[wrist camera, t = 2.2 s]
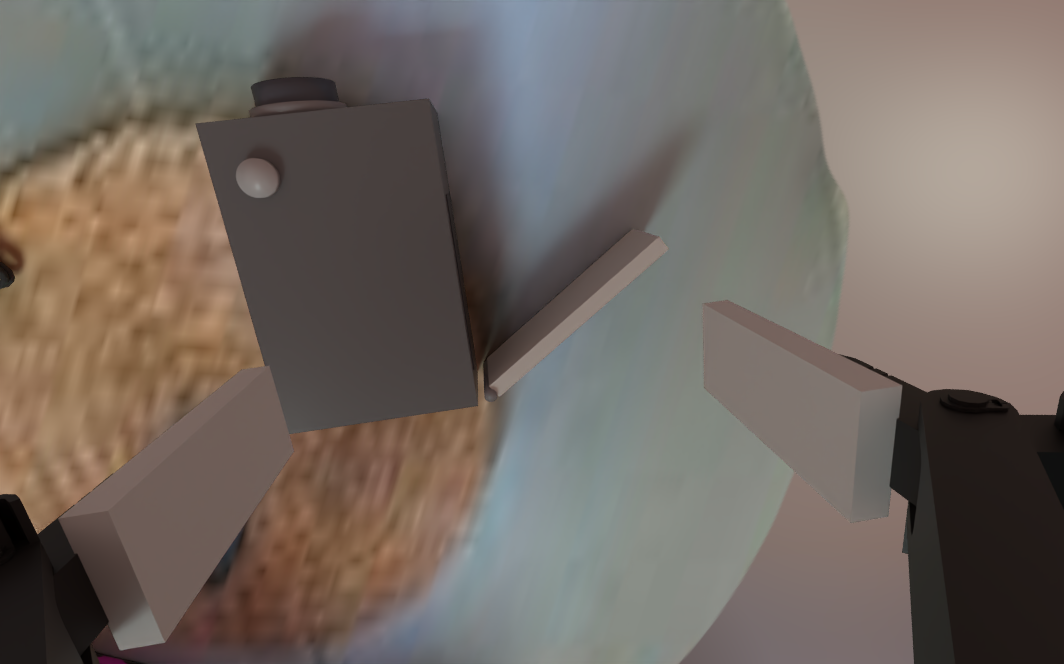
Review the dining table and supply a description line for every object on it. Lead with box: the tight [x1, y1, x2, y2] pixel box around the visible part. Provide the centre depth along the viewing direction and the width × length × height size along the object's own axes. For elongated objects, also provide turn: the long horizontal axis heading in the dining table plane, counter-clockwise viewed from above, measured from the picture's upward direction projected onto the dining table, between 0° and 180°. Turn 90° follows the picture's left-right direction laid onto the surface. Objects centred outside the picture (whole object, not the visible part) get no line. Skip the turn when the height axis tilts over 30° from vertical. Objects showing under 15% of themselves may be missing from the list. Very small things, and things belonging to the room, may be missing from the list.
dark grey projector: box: [196, 77, 478, 434], centre depth 32 cm, size 20×12×7 cm, turn 6°
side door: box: [483, 229, 669, 402], centre depth 34 cm, size 15×1×6 cm, turn 131°
